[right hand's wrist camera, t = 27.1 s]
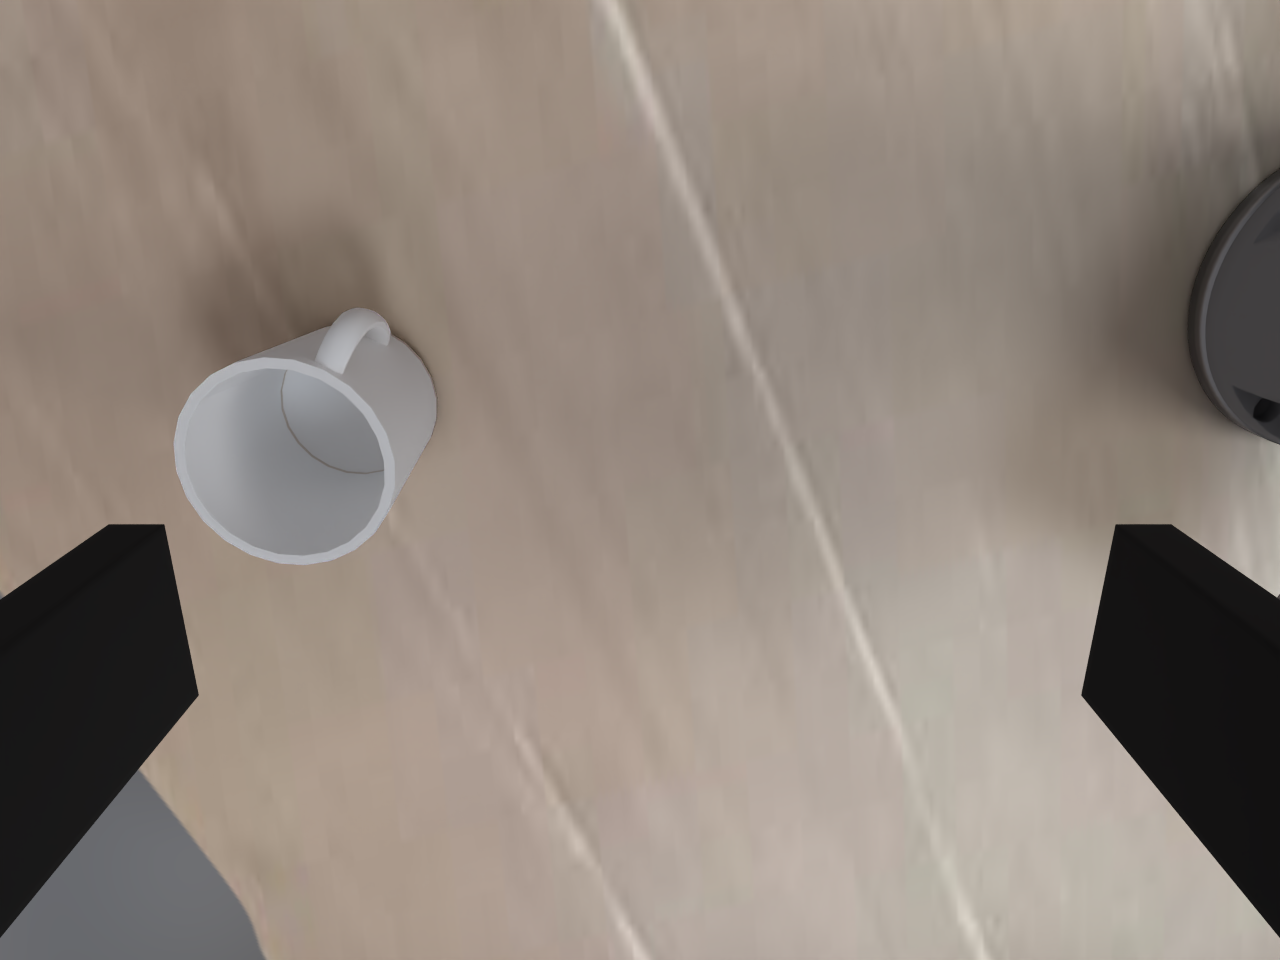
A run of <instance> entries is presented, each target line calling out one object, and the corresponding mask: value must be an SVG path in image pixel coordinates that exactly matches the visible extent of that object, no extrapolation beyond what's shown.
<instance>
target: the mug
mask: <svg viewBox="0 0 1280 960" xmlns="http://www.w3.org/2000/svg"><path fill="white" fill-rule="evenodd" d="M436 420H437V395H436V391H435V387H434V383H433V380H432V377H431V375H430V373H429V372H428V370H427V368H426V366H425V365H424V363H423V361H422V359H421V358H420V357H419V356H418V355H417V354H416V353H415V352H414V351H413V350H412V349H411V348H410V347H409V346H408V344H407V343H405V342H403V341H402V340H400V339H399V338H397V337H396V336H394V335H393V334H391V333H390V328H389V326H388V324H387V322H386V320H385V319H384V318H383V317H382V316H381V315H379V314H378V313H377V312H375V311H373V310H370V309H366V308H359V307H357V308H353V309H350V310H347V311H345V312H343V313H342V314H341V315H340V316H339V317H338V318H337V319H336V320H335V321H334V323H333V324H332V325H331V326H326V327H324V328H321V329H319V330H316V331H314V332H311V333H309V334H306V335H303V336H301V337H298V338H296V339H293V340H291V341H288V342H285V343H283V344H280V345H278V346H275V347H273V348H270V349H267V350H265V351H262V352H260V353H257V354H255V355H252V356H249V357H247V358H244V359H242V360H239V361H237V362H235V363H233V364H231V365H229V366H227V367H225V368H223V369H221V370H219V371H217V372H215V373H213V374H211V375H210V376H209V377H208V378H207V379H206V380H205V381H204V382H203V383H202V384H200V385H199V386H198V387H197V388H196V389H195V390H194V391H193V392H192V393H191V394H190V396H189V398H188V400H187V402H186V404H185V406H184V408H183V410H182V411H181V413H180V415H179V417H178V422H177V428H176V433H175V438H174V453H175V462H176V471H177V474H178V476H179V479H180V481H181V484H182V487H183V489H184V492H185V494H186V497H187V498H188V500H189V501H190V503H191V504H192V506H193V507H194V508H195V510H196V511H197V513H198V514H199V516H200V517H201V518H202V520H203V521H204V522H205V523H206V524H207V525H208V526H209V527H211V528H212V529H213V530H214V531H215V532H216V533H217V534H218V535H219V536H221V537H222V538H223V539H224V540H225V541H227V542H229V543H230V544H232V545H234V546H236V547H237V548H239V549H241V550H243V551H244V552H246V553H248V554H250V555H253V556H256V557H259V558H263V559H266V560H269V561H272V562H275V563H283V564H297V565H308V564H314V563H320V562H326V561H332V560H334V559H336V558H338V557H341V556H343V555H345V554H347V553H349V552H352V551H354V550H356V549H357V548H358V547H359V546H360V545H361V544H363V543H364V542H365V541H366V540H367V539H368V538H370V537H371V536H372V535H373V534H374V533H375V532H376V531H377V529H378V527H379V526H380V524H381V523H382V521H383V520H384V518H385V517H386V515H387V513H388V512H389V510H390V509H391V507H392V505H393V503H394V502H395V500H396V498H397V496H398V494H399V493H400V491H401V489H402V487H403V486H404V484H405V482H406V480H407V478H408V477H409V475H410V473H411V471H412V470H413V468H414V466H415V464H416V462H417V461H418V459H419V457H420V455H421V454H422V452H423V450H424V448H425V447H426V445H427V443H428V441H429V439H430V438H431V436H432V433H433V430H434V427H435V423H436Z"/></svg>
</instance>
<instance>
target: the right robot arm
mask: <svg viewBox="0 0 1280 960" xmlns="http://www.w3.org/2000/svg"><path fill="white" fill-rule="evenodd" d="M1188 342H1189V349H1190V355H1191V359H1192V363H1193V367H1194V370H1195V372H1196V375H1197V378H1198V380H1199V382H1200V384H1201V386H1202V388H1203V390H1204V391H1205V393H1206V394H1207V396H1208V397H1209V399H1210V400H1211V401H1212V403H1213V404H1214V405H1215V406H1216V407H1217V408H1218V409H1219V410H1220V411H1221V412H1222V413H1223V414H1224V415H1225V416H1226V417H1227V418H1229V419H1230V420H1231V421H1233V422H1234V423H1236V424H1237V425H1239V426H1240V427H1242V428H1244V429H1246V430H1248V431H1250V432H1251V433H1254V434H1256V435H1258V436H1260V437H1263V438H1265V439H1267V440H1269V441H1272V442H1275V443H1277V444H1280V169H1278V170H1277V171H1276V172H1275V173H1273V174H1272V175H1271V176H1269V177H1268V178H1267V179H1266V180H1264V181H1263V182H1262V183H1261V184H1260V185H1259V186H1258V187H1256V188H1255V189H1254V190H1253V191H1252V192H1251V193H1250V194H1249V195H1248V196H1247V197H1246V198H1245V199H1244V200H1243V201H1242V202H1241V204H1240V205H1239V206H1238V207H1237V208H1236V209H1235V211H1234V212H1233V213H1232V214H1231V215H1230V217H1229V218H1228V219H1227V221H1226V222H1225V223H1224V225H1223V226H1222V228H1221V229H1220V231H1219V232H1218V234H1217V235H1216V237H1215V239H1214V241H1213V242H1212V244H1211V246H1210V248H1209V249H1208V251H1207V254H1206V256H1205V258H1204V260H1203V262H1202V264H1201V267H1200V270H1199V272H1198V275H1197V278H1196V281H1195V284H1194V288H1193V292H1192V296H1191V301H1190V307H1189V317H1188ZM198 696H199V694H198V689H197V684H196V679H195V674H194V669H193V664H192V659H191V655H190V650H189V645H188V640H187V635H186V630H185V625H184V620H183V615H182V610H181V605H180V600H179V595H178V590H177V585H176V580H175V575H174V570H173V565H172V560H171V555H170V550H169V545H168V540H167V535H166V530H165V525H164V524H109V525H107V526H106V527H104V528H103V529H101V530H100V531H99V532H97V533H96V534H94V535H93V536H91V537H90V538H89V539H87V540H86V541H84V542H83V543H81V544H80V545H78V546H77V547H76V548H74V549H73V550H71V551H70V552H68V553H67V554H65V555H64V556H63V557H61V558H60V559H58V560H57V561H55V562H54V563H52V564H51V565H50V566H48V567H47V568H45V569H44V570H42V571H41V572H39V573H38V574H37V575H35V576H34V577H32V578H31V579H29V580H28V581H26V582H25V583H24V584H22V585H21V586H19V587H18V588H16V589H15V590H13V591H12V592H11V593H9V594H8V595H6V596H5V597H3V598H2V599H1V600H0V937H1V936H2V935H3V934H4V933H5V931H6V930H7V929H8V928H9V926H10V925H11V924H12V923H13V922H14V920H15V919H16V918H17V917H18V915H19V914H20V913H21V912H22V910H23V909H24V908H25V907H26V906H27V904H28V903H29V902H30V901H31V900H32V898H33V897H34V896H35V895H36V893H37V892H38V891H39V890H40V889H41V887H42V886H43V885H44V884H45V882H46V881H47V880H48V879H49V878H50V876H51V875H52V874H53V873H54V871H55V870H56V869H57V868H58V867H59V865H60V864H61V863H62V862H63V860H64V859H65V858H66V857H67V856H68V854H69V853H70V852H71V851H72V849H73V848H74V847H75V846H76V845H77V843H78V842H79V841H80V840H81V838H82V837H83V836H84V835H85V834H86V832H87V831H88V830H89V829H90V827H91V826H92V825H93V824H94V822H95V821H96V820H97V819H98V818H99V816H100V815H101V814H102V813H103V812H104V810H105V809H106V808H107V807H108V805H109V804H110V803H111V802H112V801H113V799H114V798H115V797H116V796H117V794H118V793H119V792H120V791H121V790H122V788H123V787H124V786H125V785H126V783H127V782H128V781H129V780H130V779H131V777H132V776H133V775H134V774H135V773H136V771H137V770H138V769H139V768H140V766H141V765H142V764H143V763H144V762H145V760H146V759H147V758H148V757H149V755H150V754H151V753H152V752H153V751H154V749H155V748H156V747H157V746H158V744H159V743H160V742H161V741H162V740H163V738H164V737H165V736H166V735H167V733H168V732H169V731H170V730H171V729H172V727H173V726H174V725H175V724H176V722H177V721H178V720H179V719H180V718H181V716H182V715H183V714H184V713H185V711H186V710H187V709H188V708H189V707H190V705H191V704H192V703H193V702H194V700H195V699H196V698H197V697H198ZM1081 696H1082V697H1083V698H1084V699H1085V700H1086V702H1087V703H1088V704H1089V705H1090V707H1091V708H1092V709H1093V710H1094V711H1095V713H1096V714H1097V715H1098V716H1099V718H1100V719H1101V720H1102V721H1103V722H1104V724H1105V725H1106V726H1107V727H1108V729H1109V730H1110V731H1111V732H1112V733H1113V735H1114V736H1115V737H1116V738H1117V740H1118V741H1119V742H1120V743H1121V744H1122V746H1123V747H1124V748H1125V749H1126V751H1127V752H1128V753H1129V754H1130V755H1131V757H1132V758H1133V759H1134V760H1135V762H1136V763H1137V764H1138V765H1139V766H1140V768H1141V769H1142V770H1143V771H1144V773H1145V774H1146V775H1147V776H1148V777H1149V779H1150V780H1151V781H1152V782H1153V783H1154V785H1155V786H1156V787H1157V788H1158V790H1159V791H1160V792H1161V793H1162V794H1163V796H1164V797H1165V798H1166V799H1167V801H1168V802H1169V803H1170V804H1171V805H1172V807H1173V808H1174V809H1175V810H1176V812H1177V813H1178V814H1179V815H1180V816H1181V818H1182V819H1183V820H1184V821H1185V823H1186V824H1187V825H1188V826H1189V827H1190V829H1191V830H1192V831H1193V832H1194V834H1195V835H1196V836H1197V837H1198V838H1199V840H1200V841H1201V842H1202V843H1203V845H1204V846H1205V847H1206V848H1207V849H1208V851H1209V852H1210V853H1211V854H1212V856H1213V857H1214V858H1215V859H1216V860H1217V862H1218V863H1219V864H1220V865H1221V867H1222V868H1223V869H1224V870H1225V871H1226V873H1227V874H1228V875H1229V876H1230V878H1231V879H1232V880H1233V881H1234V882H1235V884H1236V885H1237V886H1238V887H1239V889H1240V890H1241V891H1242V892H1243V893H1244V895H1245V896H1246V897H1247V898H1248V900H1249V901H1250V902H1251V903H1252V904H1253V906H1254V907H1255V908H1256V909H1257V911H1258V912H1259V913H1260V914H1261V915H1262V917H1263V918H1264V919H1265V920H1266V922H1267V923H1268V924H1269V925H1270V926H1271V928H1272V929H1273V930H1274V931H1275V933H1276V934H1277V935H1278V936H1279V937H1280V595H1279V596H1278V597H1275V596H1274V595H1272V594H1271V593H1269V592H1268V591H1267V590H1265V589H1264V588H1262V587H1261V586H1259V585H1258V584H1256V583H1255V582H1254V581H1252V580H1251V579H1249V578H1248V577H1246V576H1245V575H1243V574H1242V573H1241V572H1239V571H1238V570H1236V569H1235V568H1233V567H1232V566H1230V565H1229V564H1228V563H1226V562H1225V561H1223V560H1222V559H1220V558H1219V557H1217V556H1216V555H1215V554H1213V553H1212V552H1210V551H1209V550H1207V549H1206V548H1204V547H1203V546H1202V545H1200V544H1199V543H1197V542H1196V541H1194V540H1193V539H1191V538H1190V537H1189V536H1187V535H1186V534H1184V533H1183V532H1181V531H1180V530H1179V529H1177V528H1176V527H1174V526H1173V525H1171V524H1116V525H1115V530H1114V535H1113V540H1112V545H1111V550H1110V555H1109V560H1108V565H1107V570H1106V575H1105V580H1104V585H1103V590H1102V595H1101V600H1100V605H1099V610H1098V615H1097V620H1096V625H1095V630H1094V635H1093V640H1092V645H1091V650H1090V655H1089V659H1088V664H1087V669H1086V674H1085V679H1084V684H1083V689H1082V694H1081Z"/></svg>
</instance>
